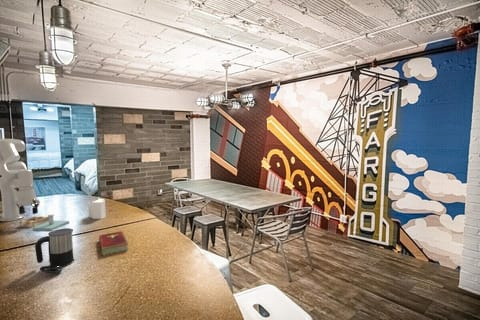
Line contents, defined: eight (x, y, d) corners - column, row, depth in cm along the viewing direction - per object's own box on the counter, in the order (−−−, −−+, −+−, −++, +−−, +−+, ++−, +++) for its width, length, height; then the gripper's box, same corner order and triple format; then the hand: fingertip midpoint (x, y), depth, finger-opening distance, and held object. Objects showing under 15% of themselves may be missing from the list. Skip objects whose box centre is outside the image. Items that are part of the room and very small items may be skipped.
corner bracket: (101, 218, 179) (100, 202, 178) (85, 218, 179) (85, 202, 178) (109, 214, 190) (108, 198, 189) (94, 214, 190) (94, 198, 189)
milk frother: (70, 256, 121) (69, 226, 120) (83, 266, 111) (81, 234, 110) (33, 268, 110) (31, 235, 109) (43, 280, 100) (40, 244, 99)
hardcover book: (101, 256, 122) (101, 248, 121) (99, 241, 139) (98, 234, 139) (128, 251, 128) (128, 243, 128) (122, 237, 146) (122, 230, 145)
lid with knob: (32, 229, 157) (31, 218, 157) (51, 222, 171) (51, 211, 170) (51, 230, 156) (50, 218, 155) (69, 223, 170) (68, 212, 169)
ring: (19, 226, 163) (19, 221, 163) (35, 221, 174) (34, 216, 174) (35, 227, 162) (34, 221, 162) (49, 221, 173) (49, 216, 173)
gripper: (9, 189, 164) (11, 215, 165) (32, 188, 162) (35, 215, 163) (20, 187, 171) (22, 212, 172) (43, 186, 169) (45, 211, 170)
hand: (28, 213), depth 167 cm, fingers open, 9 cm apart
